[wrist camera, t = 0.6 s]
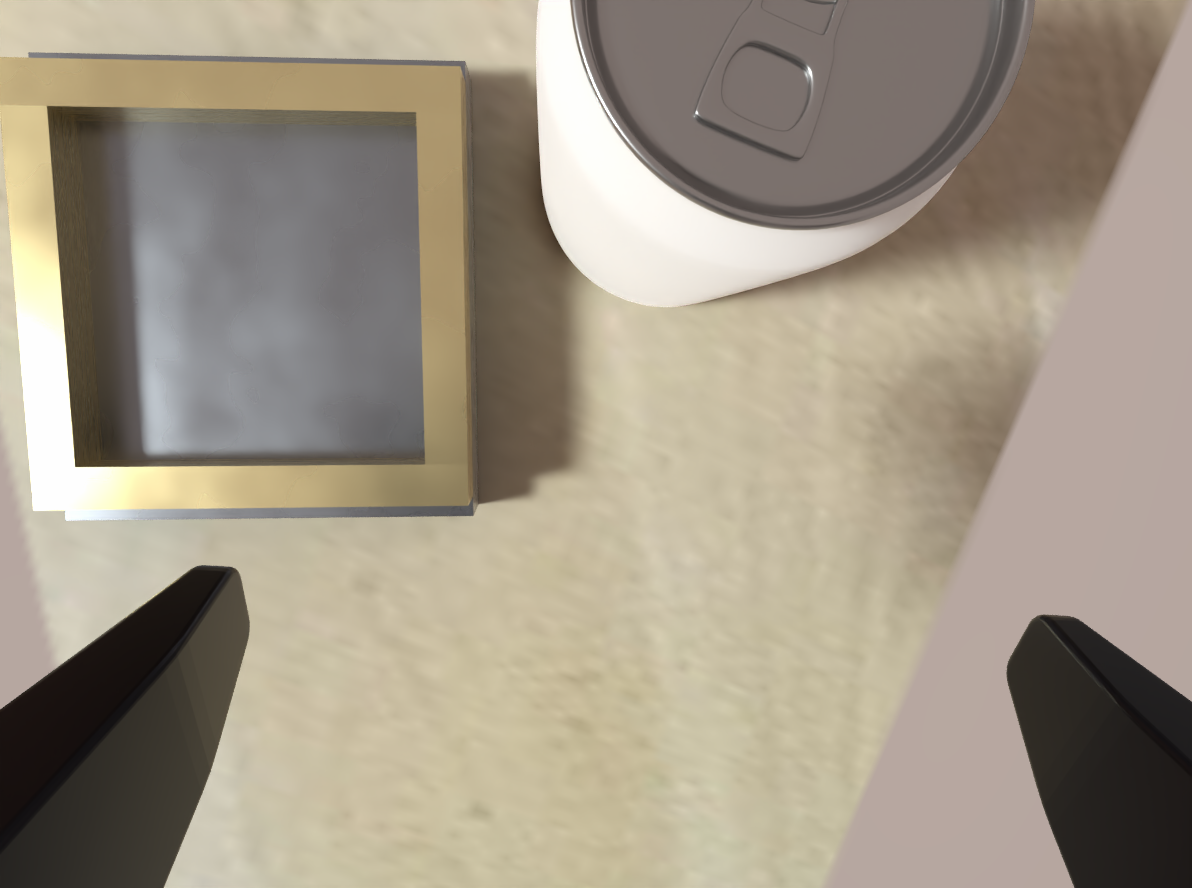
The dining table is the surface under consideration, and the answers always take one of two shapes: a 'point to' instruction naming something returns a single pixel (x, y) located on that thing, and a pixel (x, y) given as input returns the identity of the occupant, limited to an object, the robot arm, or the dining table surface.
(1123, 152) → the dining table surface
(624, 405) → the dining table surface
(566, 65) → the can
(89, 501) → the gold square coaster
